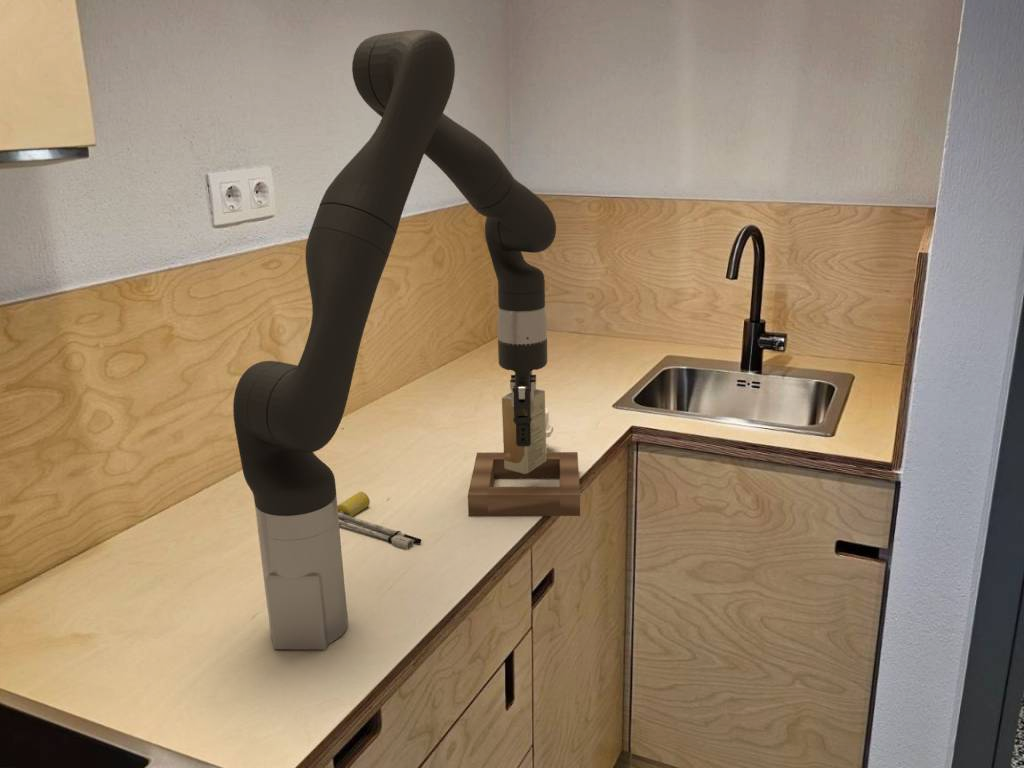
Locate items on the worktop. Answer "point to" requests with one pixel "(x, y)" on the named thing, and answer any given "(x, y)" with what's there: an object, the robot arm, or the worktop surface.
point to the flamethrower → (357, 505)
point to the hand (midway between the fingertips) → (524, 436)
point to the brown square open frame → (525, 498)
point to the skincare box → (535, 454)
